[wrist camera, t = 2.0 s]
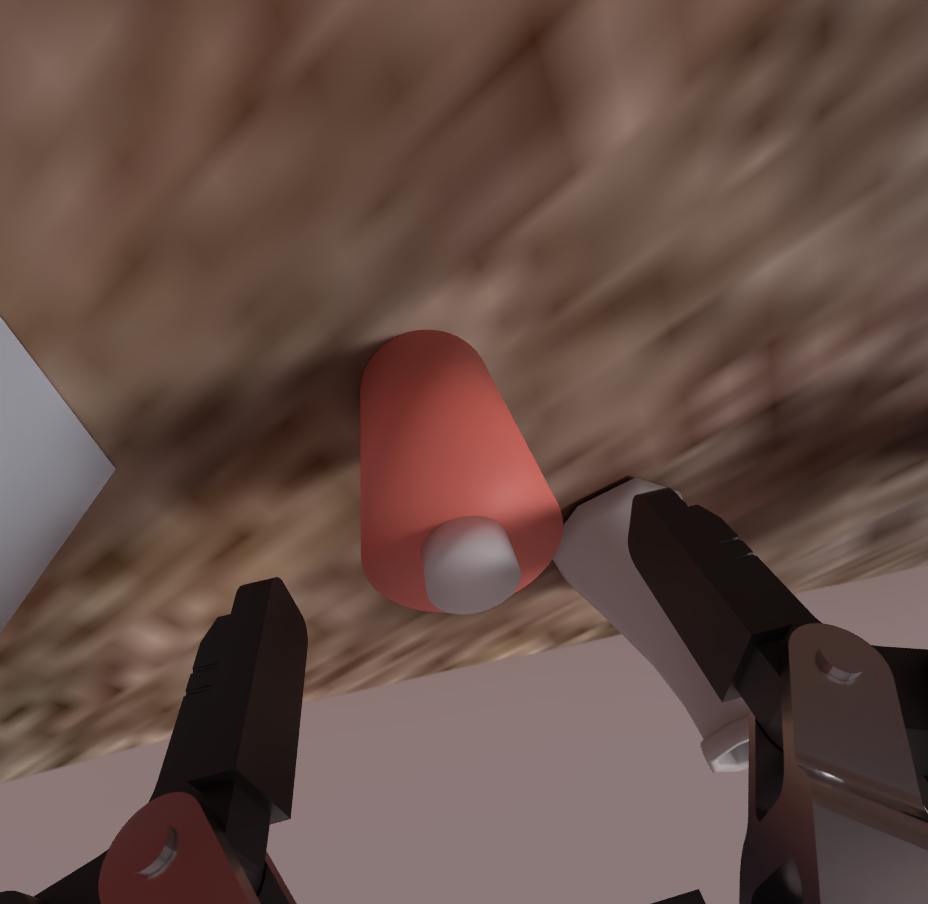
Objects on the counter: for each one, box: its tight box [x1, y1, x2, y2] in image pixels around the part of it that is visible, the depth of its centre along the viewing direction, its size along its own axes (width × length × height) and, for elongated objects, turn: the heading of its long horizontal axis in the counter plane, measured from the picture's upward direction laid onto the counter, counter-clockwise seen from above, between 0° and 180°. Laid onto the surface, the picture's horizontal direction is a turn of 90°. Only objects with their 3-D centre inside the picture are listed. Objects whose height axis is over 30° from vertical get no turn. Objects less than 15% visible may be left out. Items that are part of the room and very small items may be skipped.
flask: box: [552, 477, 751, 772], centre depth 19 cm, size 7×7×10 cm
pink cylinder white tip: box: [360, 330, 563, 614], centre depth 13 cm, size 5×5×8 cm
